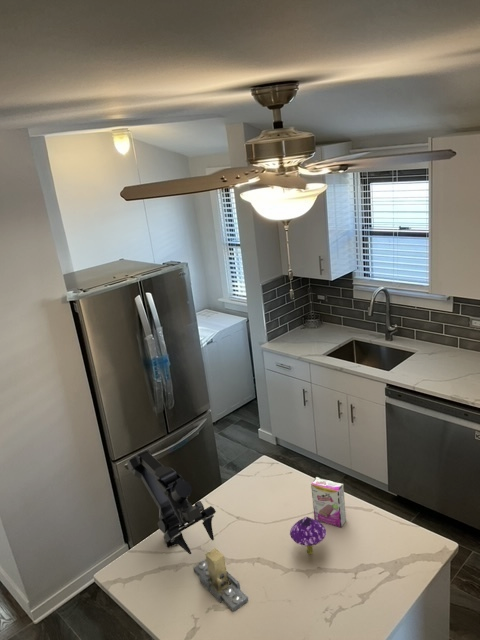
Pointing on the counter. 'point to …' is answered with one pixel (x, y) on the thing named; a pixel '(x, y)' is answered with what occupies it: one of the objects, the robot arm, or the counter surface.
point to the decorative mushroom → (308, 533)
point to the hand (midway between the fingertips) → (202, 546)
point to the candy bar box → (328, 502)
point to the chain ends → (229, 595)
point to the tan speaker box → (217, 569)
